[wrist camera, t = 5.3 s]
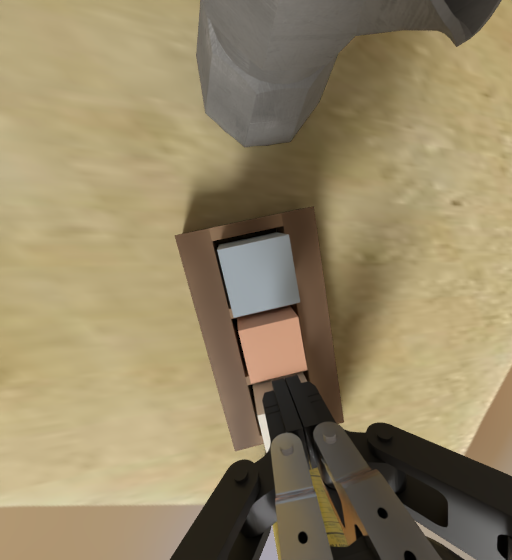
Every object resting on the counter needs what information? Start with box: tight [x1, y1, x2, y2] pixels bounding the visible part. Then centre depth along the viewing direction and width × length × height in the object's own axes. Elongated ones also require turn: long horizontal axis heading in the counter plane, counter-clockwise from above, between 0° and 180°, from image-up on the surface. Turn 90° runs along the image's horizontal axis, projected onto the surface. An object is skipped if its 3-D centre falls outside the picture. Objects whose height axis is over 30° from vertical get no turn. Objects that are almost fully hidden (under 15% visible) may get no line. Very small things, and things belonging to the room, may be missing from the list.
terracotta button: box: [237, 305, 307, 384], centre depth 20 cm, size 4×4×4 cm
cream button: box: [253, 372, 307, 453], centre depth 20 cm, size 4×4×4 cm
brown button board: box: [175, 206, 344, 451], centre depth 21 cm, size 10×19×3 cm, turn 11°
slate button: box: [217, 232, 300, 318], centre depth 17 cm, size 4×4×4 cm
